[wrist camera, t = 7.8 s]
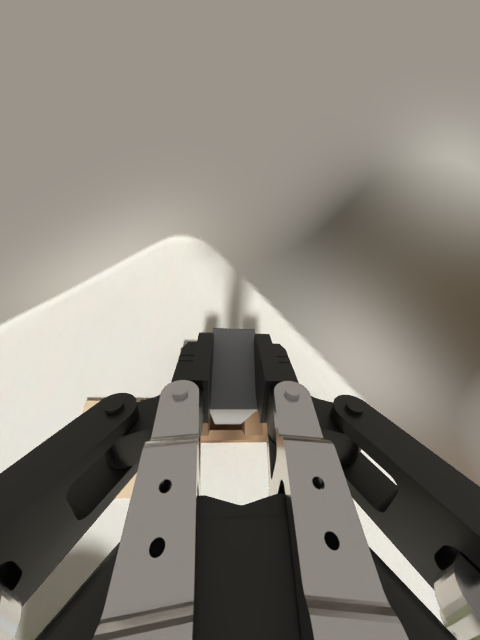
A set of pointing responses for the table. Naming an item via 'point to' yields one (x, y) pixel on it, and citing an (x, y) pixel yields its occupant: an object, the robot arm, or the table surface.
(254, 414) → the rack
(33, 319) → the table surface
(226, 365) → the grey rectangular block
